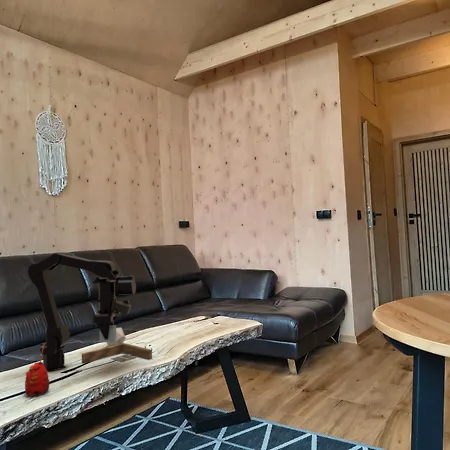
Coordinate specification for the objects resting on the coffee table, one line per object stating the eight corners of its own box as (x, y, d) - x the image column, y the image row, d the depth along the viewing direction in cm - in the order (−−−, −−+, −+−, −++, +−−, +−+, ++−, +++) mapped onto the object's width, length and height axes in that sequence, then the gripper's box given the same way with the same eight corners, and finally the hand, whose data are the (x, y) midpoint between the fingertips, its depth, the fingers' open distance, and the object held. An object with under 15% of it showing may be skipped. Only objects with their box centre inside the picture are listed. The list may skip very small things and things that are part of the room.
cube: (113, 342, 151) (113, 327, 151) (99, 342, 150) (99, 328, 150) (116, 338, 156) (116, 324, 156) (102, 339, 155) (102, 325, 155)
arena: (109, 371, 147) (109, 361, 147) (81, 362, 159) (81, 353, 159) (152, 358, 161) (151, 349, 162) (123, 351, 174) (123, 342, 174)
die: (114, 351, 177) (127, 331, 180) (98, 341, 178) (111, 321, 182) (119, 353, 184) (131, 334, 187) (103, 343, 186) (115, 324, 189)
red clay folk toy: (23, 391, 130) (22, 343, 131) (47, 386, 134) (46, 340, 134) (26, 399, 124) (25, 348, 124) (51, 394, 127) (50, 344, 128)
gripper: (124, 297, 145) (125, 343, 144) (133, 291, 163) (134, 331, 163) (91, 299, 144) (93, 344, 143) (104, 292, 163) (105, 332, 162)
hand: (108, 337), depth 153 cm, fingers closed on cube, 5 cm apart
